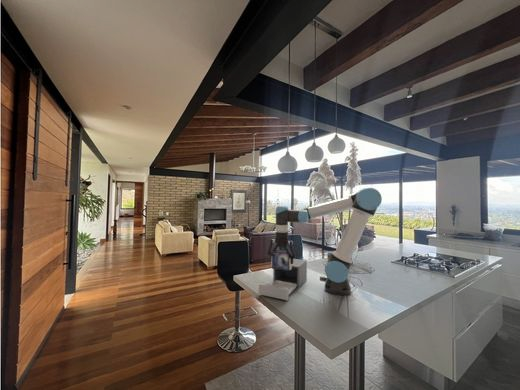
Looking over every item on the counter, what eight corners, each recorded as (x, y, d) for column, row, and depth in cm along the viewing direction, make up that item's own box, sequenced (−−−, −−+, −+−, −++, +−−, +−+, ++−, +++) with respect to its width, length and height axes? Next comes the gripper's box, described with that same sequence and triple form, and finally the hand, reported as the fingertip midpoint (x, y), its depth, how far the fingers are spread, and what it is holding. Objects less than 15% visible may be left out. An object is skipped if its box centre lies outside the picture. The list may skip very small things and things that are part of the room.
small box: (271, 269, 132) (271, 251, 133) (274, 266, 138) (275, 249, 139) (288, 271, 128) (288, 253, 129) (291, 268, 134) (291, 251, 135)
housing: (306, 280, 151) (306, 260, 152) (298, 289, 135) (298, 266, 136) (283, 276, 159) (283, 257, 160) (273, 284, 143) (273, 263, 144)
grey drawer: (298, 287, 136) (298, 278, 136) (286, 300, 117) (286, 289, 117) (273, 282, 143) (273, 273, 144) (258, 294, 125) (258, 284, 125)
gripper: (302, 232, 132) (301, 269, 131) (267, 229, 143) (266, 263, 142) (298, 233, 126) (298, 272, 125) (262, 230, 136) (261, 266, 135)
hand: (281, 267), depth 133 cm, fingers closed on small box, 11 cm apart
